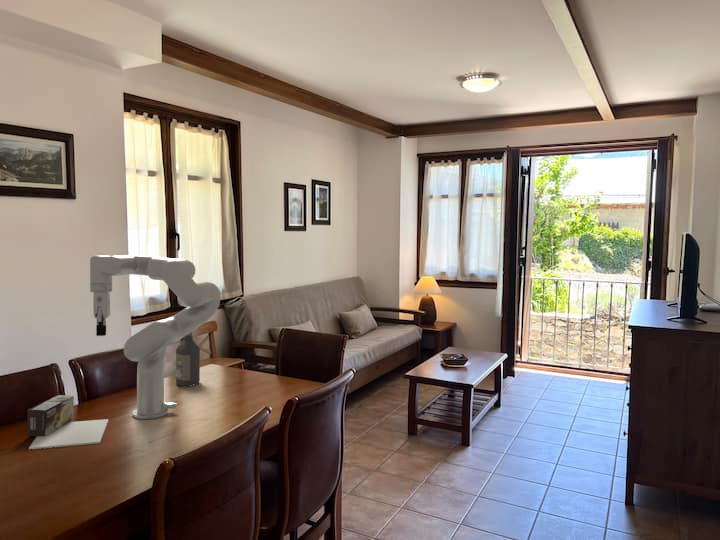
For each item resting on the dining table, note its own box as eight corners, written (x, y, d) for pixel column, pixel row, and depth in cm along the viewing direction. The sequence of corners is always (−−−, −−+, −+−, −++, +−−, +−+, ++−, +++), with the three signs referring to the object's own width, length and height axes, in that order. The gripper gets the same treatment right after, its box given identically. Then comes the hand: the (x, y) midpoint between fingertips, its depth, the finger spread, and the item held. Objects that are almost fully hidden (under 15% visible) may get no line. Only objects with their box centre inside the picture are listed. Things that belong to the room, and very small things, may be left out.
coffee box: (56, 394, 188) (26, 408, 172) (74, 395, 188) (45, 409, 172) (56, 419, 189) (26, 436, 173) (74, 420, 189) (45, 436, 173)
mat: (108, 420, 191) (108, 419, 191) (99, 443, 170) (99, 441, 170) (45, 425, 184) (45, 423, 184) (28, 449, 163) (28, 447, 163)
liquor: (186, 387, 235) (186, 321, 233) (173, 384, 240) (173, 319, 238) (202, 383, 243) (203, 319, 241) (189, 379, 248) (190, 317, 246)
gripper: (109, 289, 194) (109, 338, 195) (114, 285, 208) (114, 331, 209) (87, 289, 191) (87, 339, 192) (93, 286, 205) (93, 332, 206)
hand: (101, 335), depth 201 cm, fingers closed
